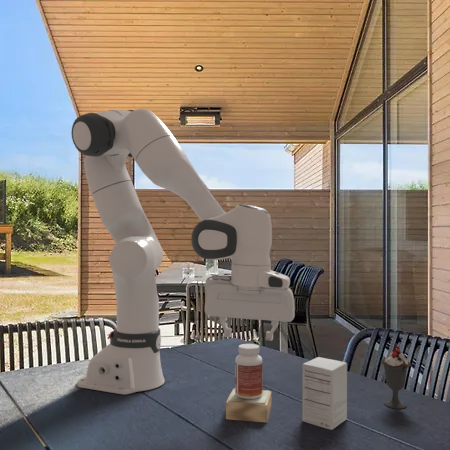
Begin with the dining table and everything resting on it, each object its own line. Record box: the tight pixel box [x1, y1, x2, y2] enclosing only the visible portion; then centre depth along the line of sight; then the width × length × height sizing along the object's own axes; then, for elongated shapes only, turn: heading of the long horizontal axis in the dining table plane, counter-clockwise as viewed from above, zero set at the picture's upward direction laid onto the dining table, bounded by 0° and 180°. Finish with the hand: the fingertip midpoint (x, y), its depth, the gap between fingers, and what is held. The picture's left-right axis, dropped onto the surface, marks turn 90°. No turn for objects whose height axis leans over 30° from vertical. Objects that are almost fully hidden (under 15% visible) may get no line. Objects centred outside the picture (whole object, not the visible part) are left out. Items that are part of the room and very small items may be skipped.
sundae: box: [380, 343, 412, 410], centre depth 117 cm, size 7×7×15 cm
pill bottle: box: [234, 343, 264, 399], centre depth 112 cm, size 6×6×11 cm
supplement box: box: [301, 356, 348, 431], centre depth 108 cm, size 7×7×13 cm
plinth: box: [225, 387, 273, 424], centre depth 112 cm, size 9×9×4 cm
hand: (248, 338), depth 112 cm, fingers open, 8 cm apart
